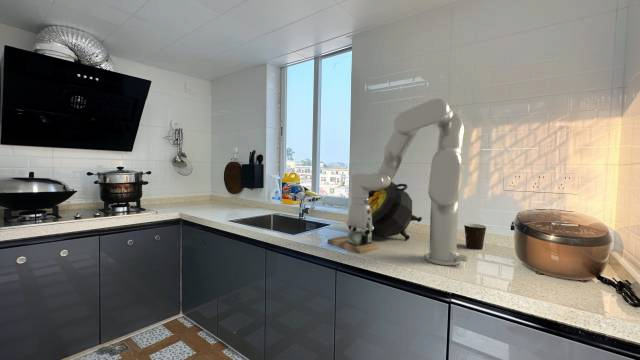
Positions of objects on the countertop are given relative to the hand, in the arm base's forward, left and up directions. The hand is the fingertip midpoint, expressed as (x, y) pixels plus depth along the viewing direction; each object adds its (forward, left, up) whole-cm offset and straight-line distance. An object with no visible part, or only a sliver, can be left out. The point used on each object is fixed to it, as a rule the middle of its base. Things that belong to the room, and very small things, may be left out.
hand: (359, 242), depth 124 cm
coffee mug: (-32, -39, -3) cm, 51 cm away
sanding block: (0, 0, -1) cm, 1 cm away
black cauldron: (+4, -25, -3) cm, 26 cm away
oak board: (+4, 0, -3) cm, 5 cm away
